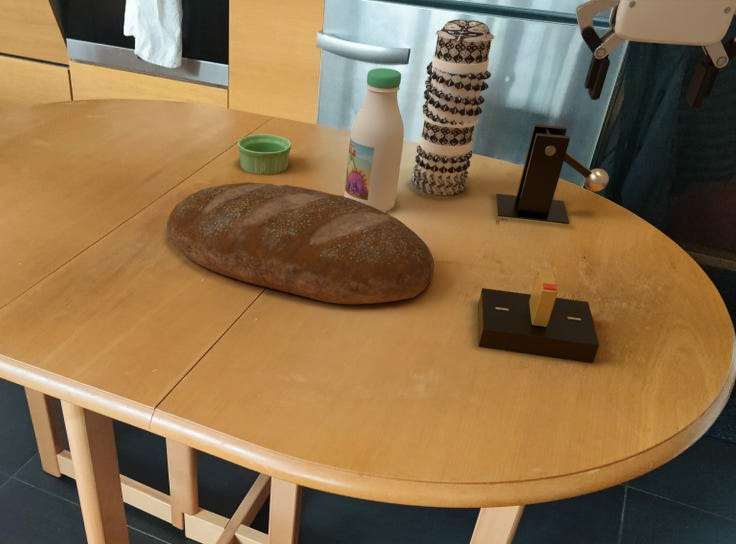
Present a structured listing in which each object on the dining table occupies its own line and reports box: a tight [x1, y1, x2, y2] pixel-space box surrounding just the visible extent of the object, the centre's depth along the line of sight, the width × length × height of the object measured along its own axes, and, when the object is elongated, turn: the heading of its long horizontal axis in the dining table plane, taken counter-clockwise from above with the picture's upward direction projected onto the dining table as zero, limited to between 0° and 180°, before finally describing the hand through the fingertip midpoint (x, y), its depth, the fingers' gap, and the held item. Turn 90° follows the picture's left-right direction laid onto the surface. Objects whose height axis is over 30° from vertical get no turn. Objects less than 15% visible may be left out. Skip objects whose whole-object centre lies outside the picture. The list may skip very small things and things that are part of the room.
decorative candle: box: [411, 18, 495, 197], centre depth 107 cm, size 9×9×25 cm
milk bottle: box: [343, 67, 405, 214], centre depth 103 cm, size 8×8×20 cm
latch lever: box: [542, 129, 610, 192], centre depth 102 cm, size 12×3×3 cm, turn 76°
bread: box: [165, 181, 436, 305], centre depth 93 cm, size 22×37×8 cm, turn 62°
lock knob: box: [529, 267, 558, 327], centre depth 79 cm, size 5×2×5 cm, turn 166°
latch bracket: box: [495, 123, 571, 225], centre depth 104 cm, size 10×8×13 cm
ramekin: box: [237, 133, 292, 175], centre depth 120 cm, size 9×9×4 cm
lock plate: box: [477, 287, 600, 364], centre depth 81 cm, size 12×9×3 cm
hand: (641, 100), depth 74 cm, fingers open, 9 cm apart
